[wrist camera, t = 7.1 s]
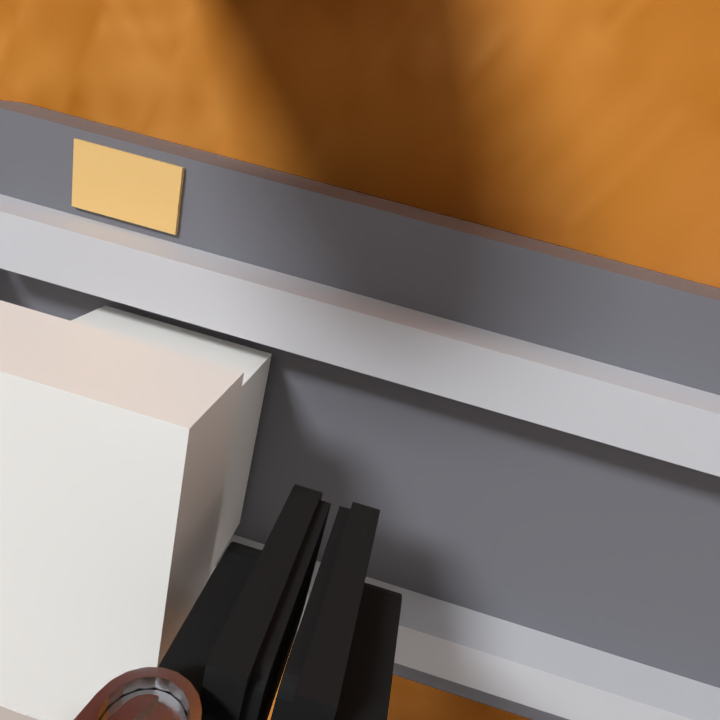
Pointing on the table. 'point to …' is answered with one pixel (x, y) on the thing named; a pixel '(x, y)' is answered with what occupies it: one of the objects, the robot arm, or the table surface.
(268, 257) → the fader panel
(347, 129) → the table surface
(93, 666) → the fader knob
